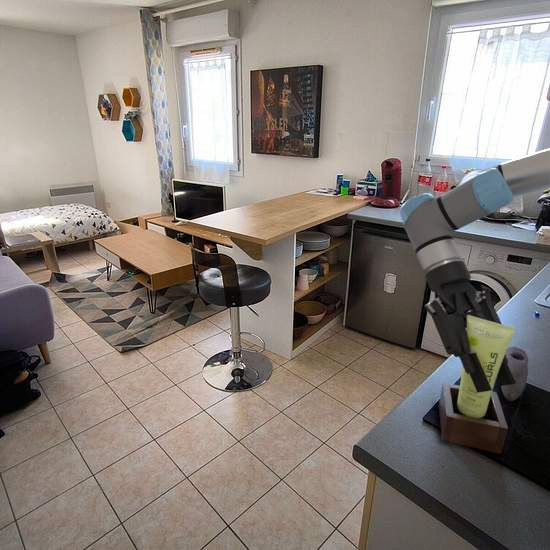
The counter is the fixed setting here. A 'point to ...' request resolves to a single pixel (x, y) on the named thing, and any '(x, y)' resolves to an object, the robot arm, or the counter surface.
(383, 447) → the counter surface
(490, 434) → the frame
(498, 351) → the tube
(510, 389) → the perforated stone tool
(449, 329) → the robot arm
